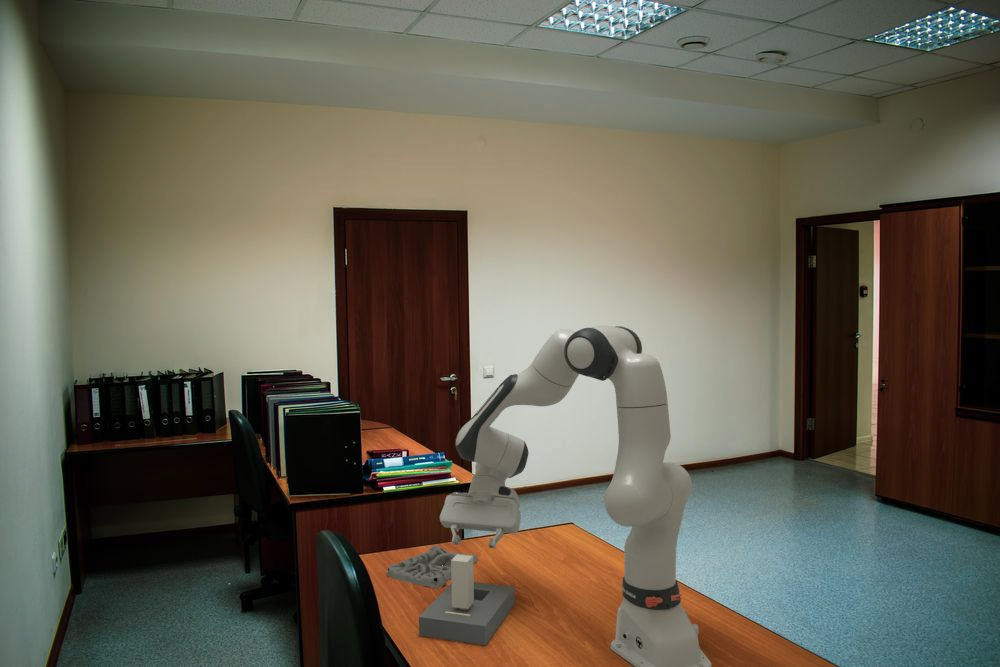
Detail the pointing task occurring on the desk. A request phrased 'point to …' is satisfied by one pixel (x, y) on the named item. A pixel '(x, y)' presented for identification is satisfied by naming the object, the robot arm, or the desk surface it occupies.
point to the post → (462, 581)
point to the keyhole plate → (468, 615)
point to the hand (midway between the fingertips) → (473, 545)
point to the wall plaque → (426, 568)
